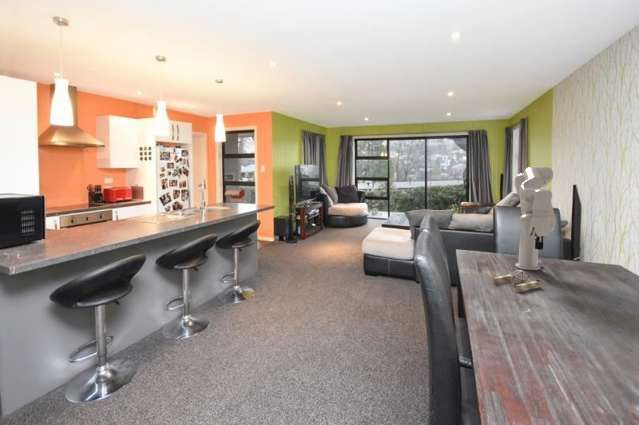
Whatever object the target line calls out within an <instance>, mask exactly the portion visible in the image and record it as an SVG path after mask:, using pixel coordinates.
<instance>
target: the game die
mask: <svg viewBox="0 0 639 425" xmlns="http://www.w3.org/2000/svg"><path fill="white" fill-rule="evenodd" d="M524 270H525V269H514V268H512V273H510V274H511V276H510V277H508V278H511V279H512V281H511V282H513V283H514V286H515V287H516V285H519V284H523V283H527V281H528V279H529V275H527V273H526V272H525V271H524Z"/></svg>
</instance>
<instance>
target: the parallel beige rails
mask: <svg viewBox="0 0 639 425" xmlns="http://www.w3.org/2000/svg"><path fill="white" fill-rule="evenodd" d="M511 274H512V273H509V274H507V275H506V274H504V275H500V276H495V277H492V284H494V285H500V284H503V283H508V282H509V283H510V282H513V281H512V279H511V278H508V277H510V276H511ZM541 281H542V279H539V278H535V280H533V281H530V282H529V281H528V282H526V283H523V284H516V285H515V287H514V288H515V292H517V293H520V292H525V291H528V290H529V291H531V290H534V289H538V288H541Z"/></svg>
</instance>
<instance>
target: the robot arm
mask: <svg viewBox="0 0 639 425" xmlns="http://www.w3.org/2000/svg"><path fill="white" fill-rule="evenodd" d="M553 178H554V170H553V169H552V168H551V167H549V166H533V167H532V166H531V167H527V168H526V169H524V171H523V173H519V174H517V175H515V178H514V187H515V191H516V192H517V194H518V196H519V203H520V204H519V205H520V211H521V214H523V215H521V216H520V217H519V220H518V222H519V224H518V225H519V245H518V246H519V247H518V248H519V249H518V262H517V263H515V267H516V268H518V269H520V270H522V269H524V270H528V271H537V270H538V271H539V270H541V266H540V265H539V264H541V263H542V260H541V259H538V258H539V251H543V250H544V242H545V239H547V238H548V236H549V235H550V232H553V231H554V230H555V228H556V220H555V214H554V206H553V204H552V199H553V192H552V190H550V189H549V188H544V187H547V186H548V185H549V184H550V183H551V182H552V180H553Z"/></svg>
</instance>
